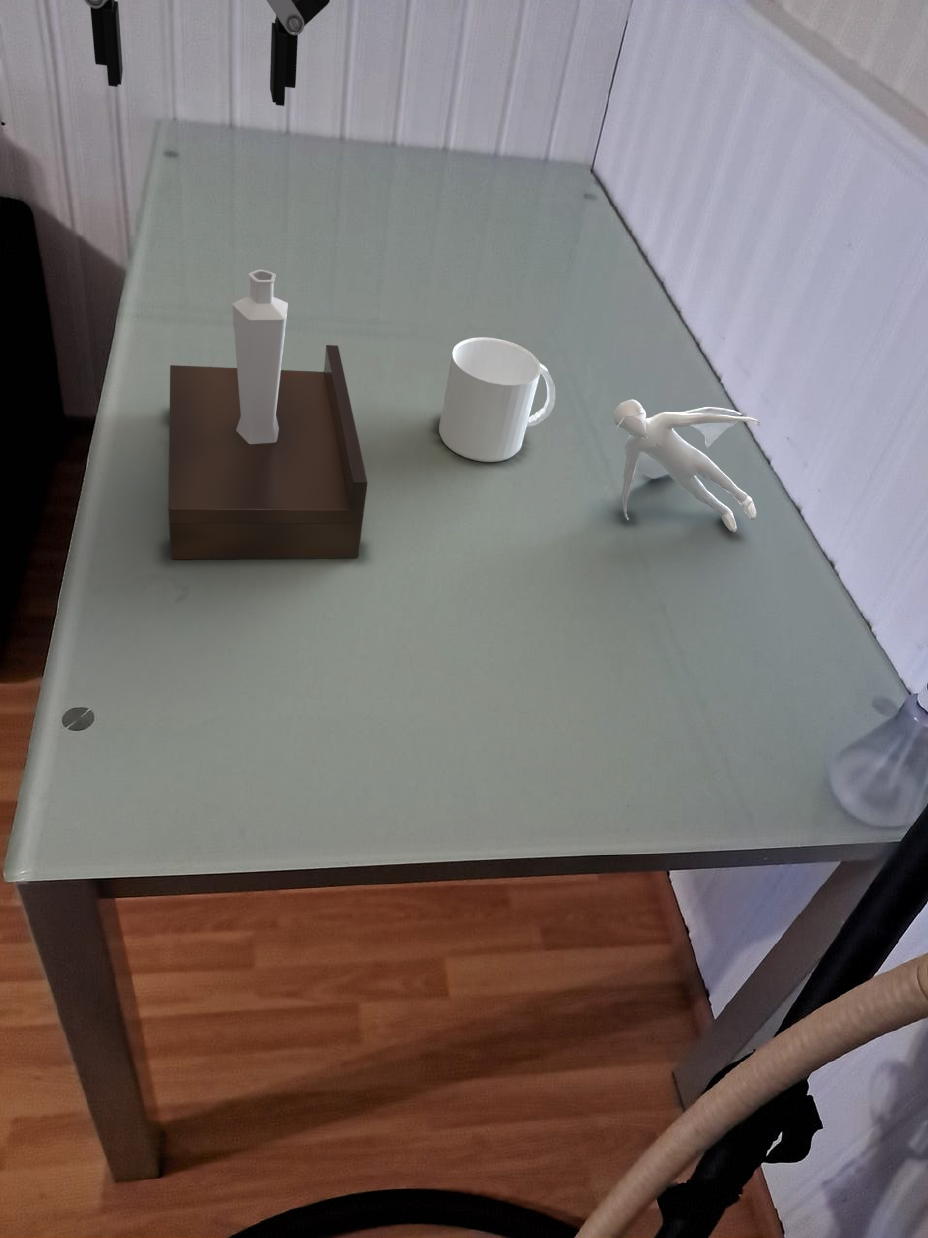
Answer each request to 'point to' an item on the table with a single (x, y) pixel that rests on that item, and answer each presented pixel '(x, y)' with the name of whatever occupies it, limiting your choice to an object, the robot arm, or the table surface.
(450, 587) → the table surface
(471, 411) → the mug
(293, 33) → the robot arm
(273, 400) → the perfume bottle
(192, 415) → the wooden display stand
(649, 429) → the figurine
